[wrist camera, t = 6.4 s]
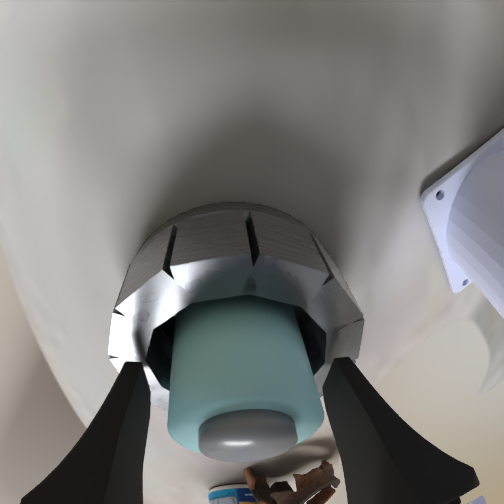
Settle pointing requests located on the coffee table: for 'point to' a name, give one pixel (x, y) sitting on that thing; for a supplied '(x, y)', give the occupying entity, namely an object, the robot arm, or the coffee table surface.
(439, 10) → the coffee table surface
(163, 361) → the faceted grey ring
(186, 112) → the coffee table surface
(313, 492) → the brown jagged hollow piece
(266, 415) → the teal cylinder
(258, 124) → the coffee table surface
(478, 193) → the robot arm
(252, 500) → the beverage bottle
